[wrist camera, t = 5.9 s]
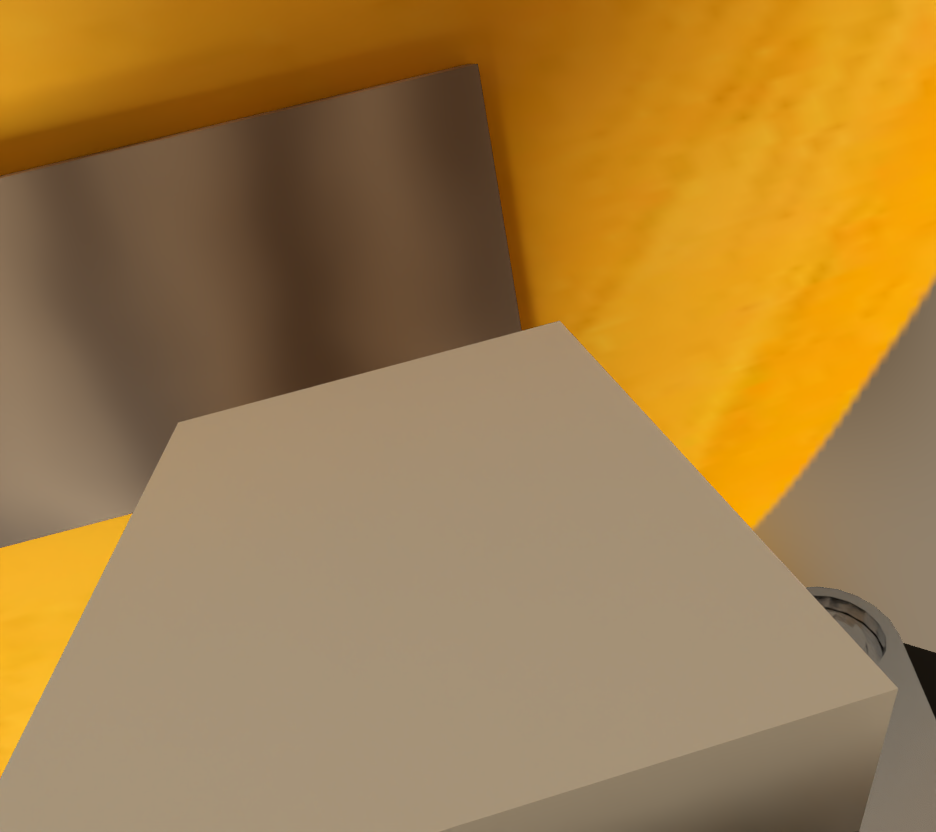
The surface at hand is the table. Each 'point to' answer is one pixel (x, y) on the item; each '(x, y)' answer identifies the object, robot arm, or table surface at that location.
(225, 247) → the walnut board
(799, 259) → the table surface
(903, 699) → the robot arm
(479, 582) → the cream housing
